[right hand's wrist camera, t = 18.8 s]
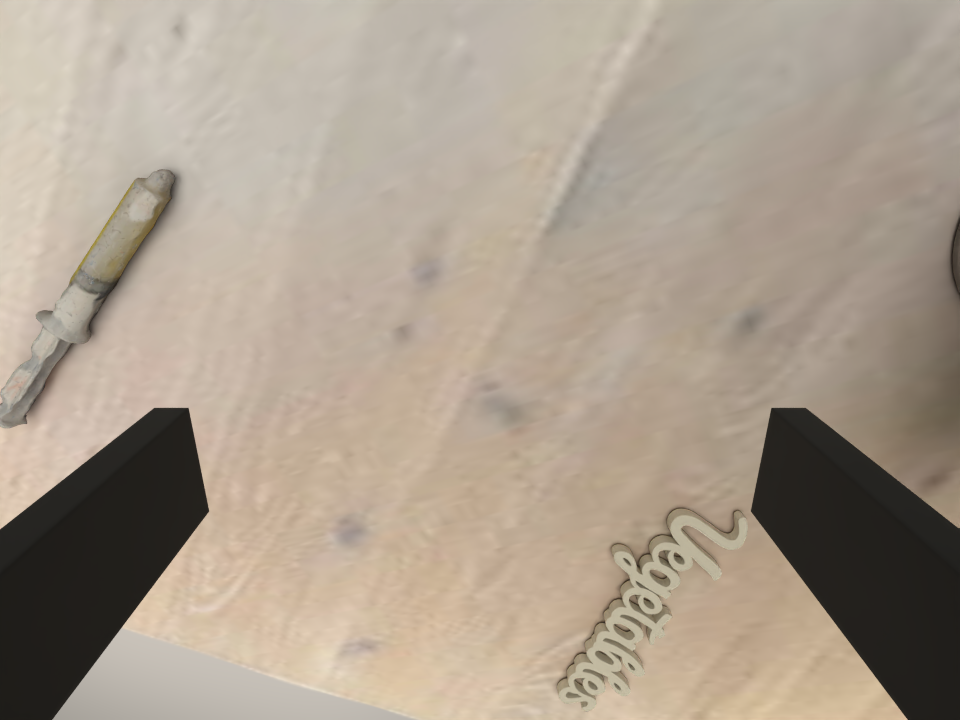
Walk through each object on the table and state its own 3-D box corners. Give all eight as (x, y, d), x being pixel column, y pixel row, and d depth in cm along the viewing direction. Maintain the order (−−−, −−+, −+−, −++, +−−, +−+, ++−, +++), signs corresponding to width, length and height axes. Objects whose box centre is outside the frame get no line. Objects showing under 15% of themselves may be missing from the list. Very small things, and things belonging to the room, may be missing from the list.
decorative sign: (658, 484, 47) (759, 523, 49) (655, 477, 48) (754, 516, 50) (527, 692, 56) (615, 721, 57) (526, 684, 57) (613, 712, 58)
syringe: (158, 155, 39) (135, 155, 37) (203, 193, 40) (184, 196, 38) (-7, 391, 46) (-37, 405, 43) (34, 420, 47) (8, 435, 44)
